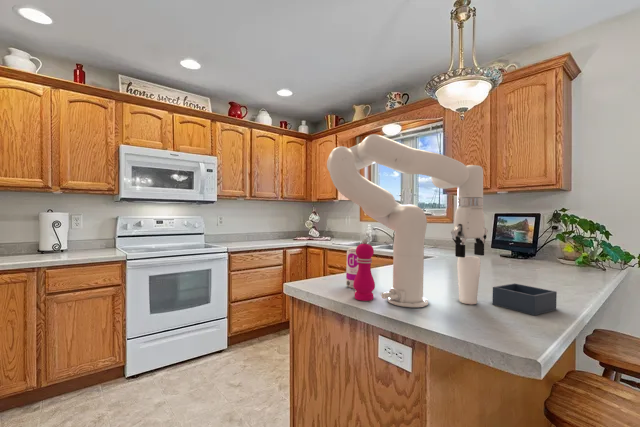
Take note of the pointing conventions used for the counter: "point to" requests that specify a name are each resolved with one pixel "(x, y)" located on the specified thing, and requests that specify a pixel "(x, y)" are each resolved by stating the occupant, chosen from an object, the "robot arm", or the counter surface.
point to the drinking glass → (468, 278)
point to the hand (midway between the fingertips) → (469, 255)
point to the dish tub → (524, 298)
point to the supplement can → (351, 266)
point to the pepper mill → (364, 272)
